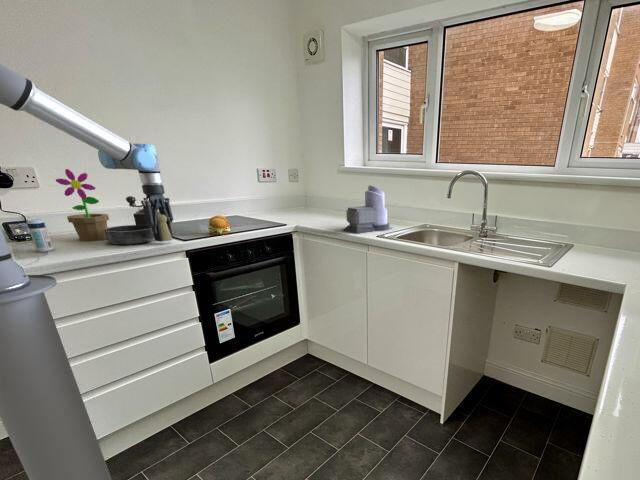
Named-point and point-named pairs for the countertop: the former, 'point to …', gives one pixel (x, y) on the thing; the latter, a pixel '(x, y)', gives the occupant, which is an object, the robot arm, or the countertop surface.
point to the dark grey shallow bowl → (129, 234)
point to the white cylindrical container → (39, 235)
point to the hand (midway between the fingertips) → (164, 239)
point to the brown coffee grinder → (139, 215)
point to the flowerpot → (85, 224)
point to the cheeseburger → (218, 225)
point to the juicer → (368, 213)
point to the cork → (163, 227)
